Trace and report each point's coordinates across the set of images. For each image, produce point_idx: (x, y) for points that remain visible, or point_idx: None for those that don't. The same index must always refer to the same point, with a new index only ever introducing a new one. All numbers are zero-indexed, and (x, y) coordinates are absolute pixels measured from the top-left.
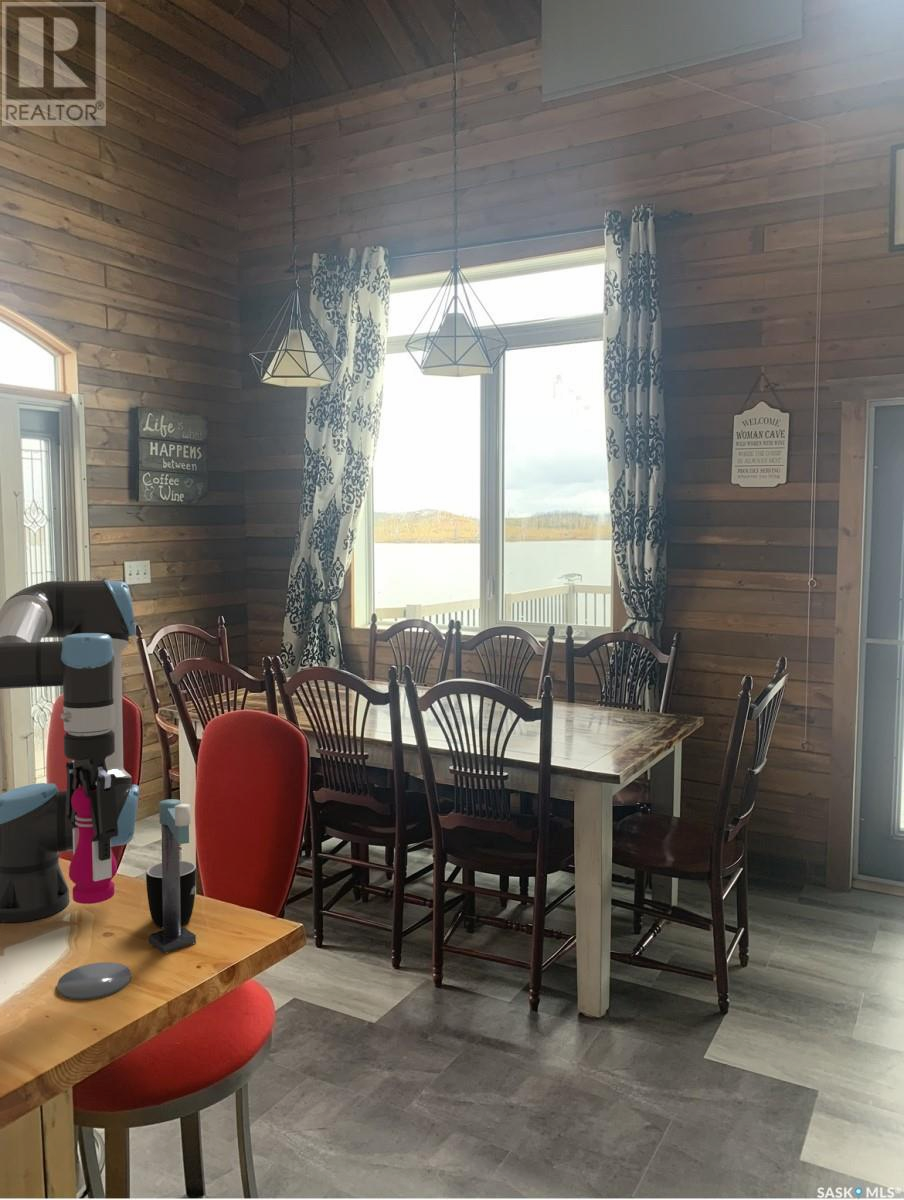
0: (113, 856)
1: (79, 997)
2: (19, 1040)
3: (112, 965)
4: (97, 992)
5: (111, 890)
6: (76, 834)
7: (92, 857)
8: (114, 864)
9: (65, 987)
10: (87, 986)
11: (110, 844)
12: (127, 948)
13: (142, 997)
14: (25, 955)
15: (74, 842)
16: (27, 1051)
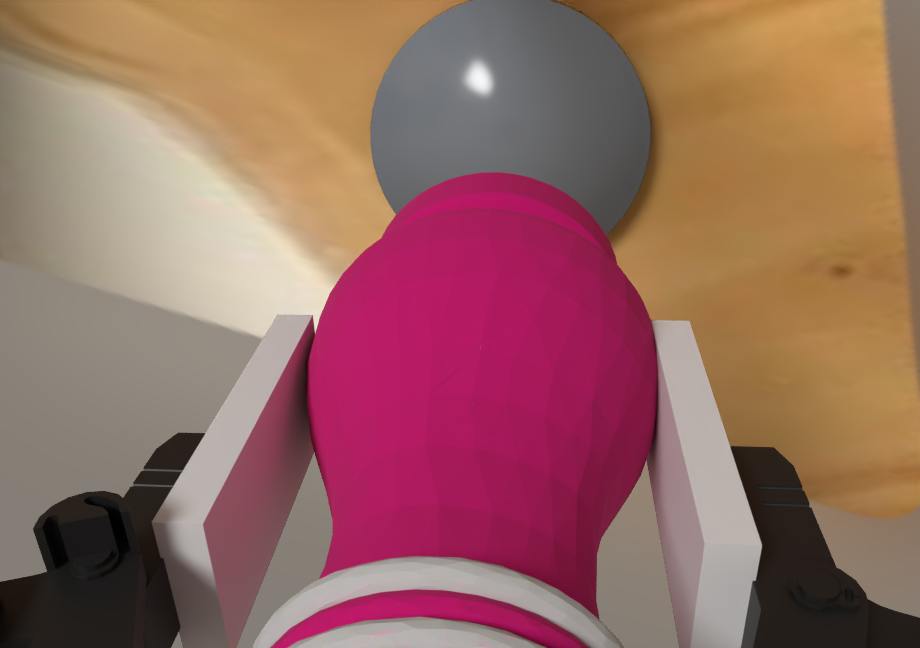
0: (579, 314)
1: None
2: None
3: (448, 41)
4: (635, 184)
5: (601, 240)
6: (246, 599)
7: (662, 548)
8: (613, 294)
9: None
10: None
11: (739, 492)
12: None
13: (771, 45)
14: (109, 242)
15: (267, 559)
16: (789, 452)
